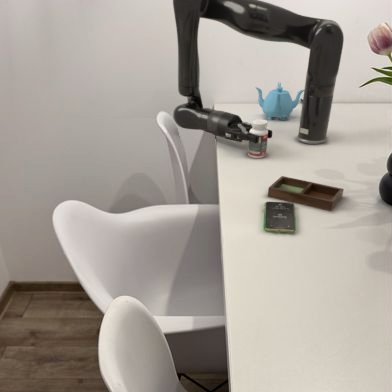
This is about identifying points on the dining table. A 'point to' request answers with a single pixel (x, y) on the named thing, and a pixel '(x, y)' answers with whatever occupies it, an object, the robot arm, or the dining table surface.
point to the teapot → (278, 103)
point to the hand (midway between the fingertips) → (264, 137)
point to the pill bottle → (259, 148)
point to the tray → (305, 193)
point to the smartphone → (279, 217)
